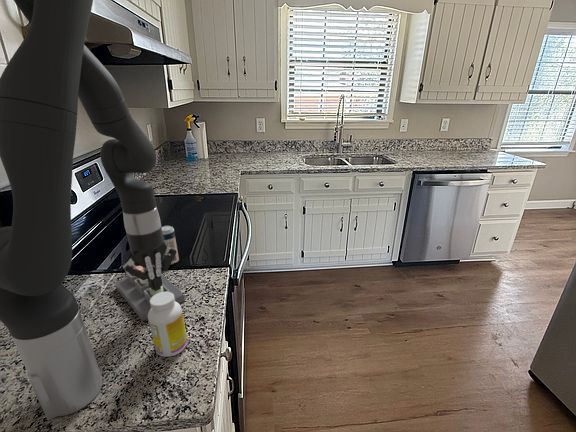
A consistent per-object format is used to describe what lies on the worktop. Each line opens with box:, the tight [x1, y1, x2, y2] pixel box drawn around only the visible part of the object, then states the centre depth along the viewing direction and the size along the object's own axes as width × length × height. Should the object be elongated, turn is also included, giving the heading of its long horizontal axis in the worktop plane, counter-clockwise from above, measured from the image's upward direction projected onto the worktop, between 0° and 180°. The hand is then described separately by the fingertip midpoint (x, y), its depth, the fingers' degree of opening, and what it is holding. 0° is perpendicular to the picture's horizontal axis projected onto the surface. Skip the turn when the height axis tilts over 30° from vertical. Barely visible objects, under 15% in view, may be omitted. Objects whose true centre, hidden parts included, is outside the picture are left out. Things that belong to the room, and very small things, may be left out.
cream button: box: [139, 278, 148, 286], centre depth 84 cm, size 3×3×3 cm
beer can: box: [161, 225, 180, 266], centre depth 99 cm, size 5×5×12 cm
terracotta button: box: [132, 265, 144, 276], centre depth 88 cm, size 3×3×3 cm
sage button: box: [149, 286, 164, 297], centre depth 80 cm, size 3×3×3 cm
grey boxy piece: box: [114, 268, 186, 322], centre depth 85 cm, size 11×19×4 cm, turn 44°
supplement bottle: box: [147, 292, 188, 358], centre depth 66 cm, size 7×7×13 cm
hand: (156, 288), depth 79 cm, fingers closed
